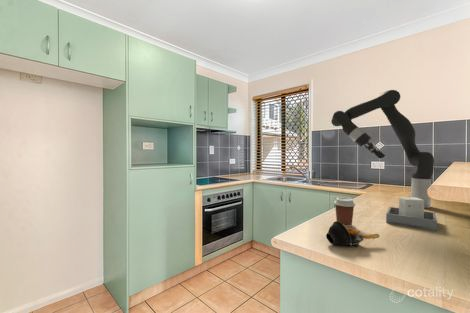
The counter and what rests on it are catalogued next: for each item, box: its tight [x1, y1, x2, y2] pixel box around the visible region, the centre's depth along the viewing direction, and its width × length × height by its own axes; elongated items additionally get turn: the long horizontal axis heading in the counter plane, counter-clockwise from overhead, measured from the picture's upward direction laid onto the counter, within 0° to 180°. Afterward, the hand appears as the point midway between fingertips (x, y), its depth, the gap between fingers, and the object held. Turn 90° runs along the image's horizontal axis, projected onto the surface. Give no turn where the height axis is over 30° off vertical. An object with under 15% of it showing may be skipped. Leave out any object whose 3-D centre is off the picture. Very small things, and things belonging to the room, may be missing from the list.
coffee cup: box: [333, 197, 356, 228], centre depth 105 cm, size 9×9×12 cm
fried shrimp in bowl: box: [325, 220, 380, 247], centre depth 84 cm, size 9×11×18 cm
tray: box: [385, 206, 438, 232], centre depth 108 cm, size 16×18×4 cm
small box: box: [398, 196, 425, 218], centre depth 108 cm, size 8×6×10 cm
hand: (382, 157), depth 123 cm, fingers open, 8 cm apart
